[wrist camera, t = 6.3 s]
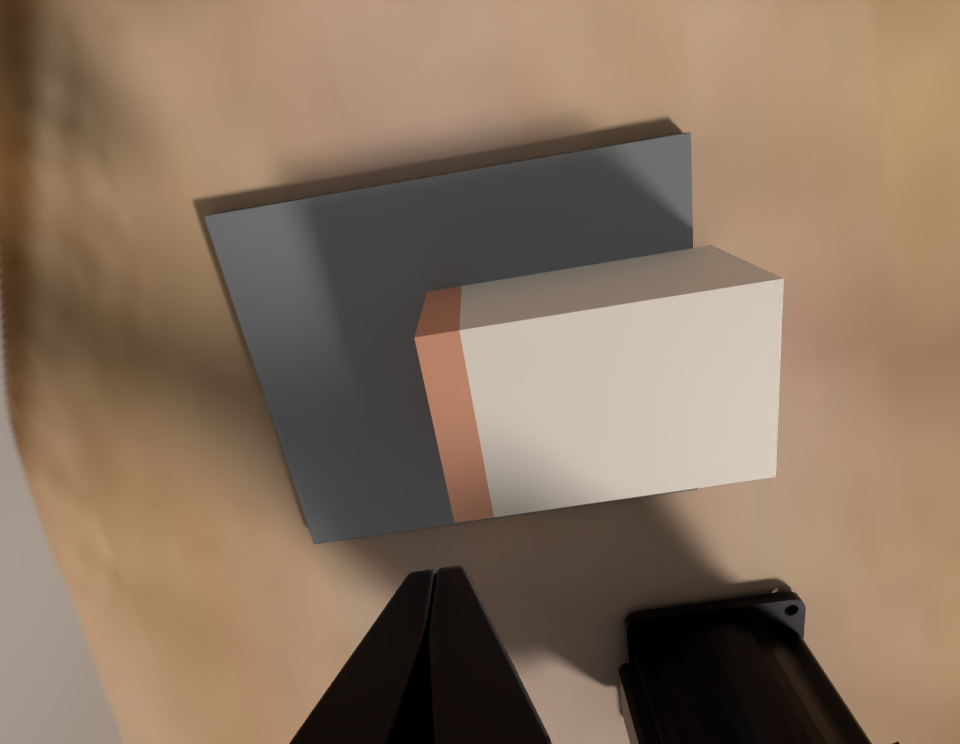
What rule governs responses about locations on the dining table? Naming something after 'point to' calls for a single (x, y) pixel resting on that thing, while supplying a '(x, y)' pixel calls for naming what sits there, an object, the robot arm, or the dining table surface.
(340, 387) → the rubber mat
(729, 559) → the dining table surface
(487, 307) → the tall block
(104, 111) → the dining table surface
